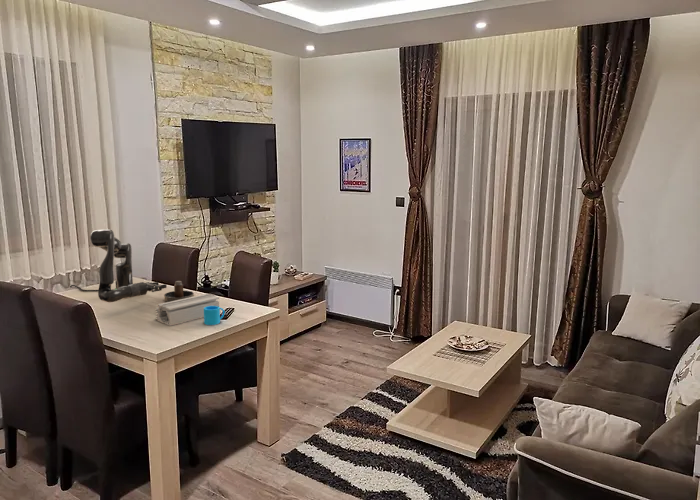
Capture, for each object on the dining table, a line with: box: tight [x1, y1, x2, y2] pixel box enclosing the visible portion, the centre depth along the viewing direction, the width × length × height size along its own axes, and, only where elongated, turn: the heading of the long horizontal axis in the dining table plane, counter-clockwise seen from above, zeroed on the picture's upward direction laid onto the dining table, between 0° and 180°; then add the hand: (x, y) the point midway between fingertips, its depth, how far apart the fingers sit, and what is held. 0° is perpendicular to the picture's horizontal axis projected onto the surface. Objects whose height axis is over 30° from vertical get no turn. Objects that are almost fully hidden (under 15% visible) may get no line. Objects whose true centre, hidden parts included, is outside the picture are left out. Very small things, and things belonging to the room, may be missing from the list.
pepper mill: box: [173, 280, 184, 298], centre depth 308 cm, size 5×5×11 cm
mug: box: [203, 305, 226, 326], centre depth 268 cm, size 12×8×8 cm
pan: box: [163, 290, 195, 303], centre depth 309 cm, size 17×17×4 cm
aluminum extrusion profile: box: [154, 293, 220, 327], centre depth 276 cm, size 14×31×10 cm, turn 140°
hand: (162, 284), depth 299 cm, fingers open, 8 cm apart
